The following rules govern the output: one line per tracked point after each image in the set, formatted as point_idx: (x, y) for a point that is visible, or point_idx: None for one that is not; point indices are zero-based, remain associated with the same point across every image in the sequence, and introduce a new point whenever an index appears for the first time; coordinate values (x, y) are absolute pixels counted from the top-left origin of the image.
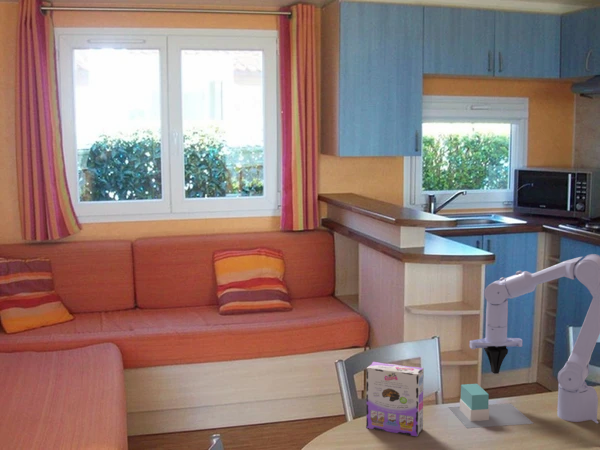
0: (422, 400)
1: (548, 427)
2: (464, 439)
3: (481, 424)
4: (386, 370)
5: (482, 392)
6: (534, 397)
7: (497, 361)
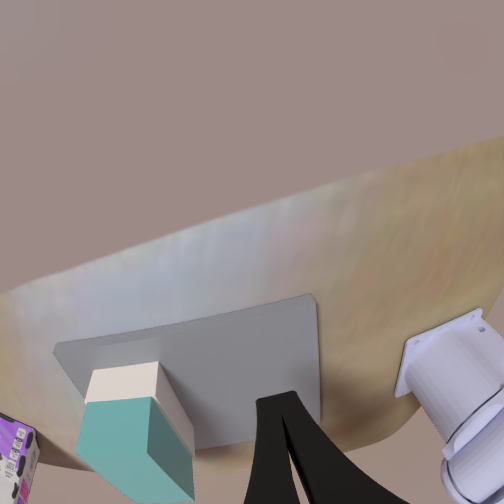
0: (21, 496)
1: (353, 407)
2: None
3: None
4: None
5: (172, 495)
6: (436, 183)
7: (309, 500)
